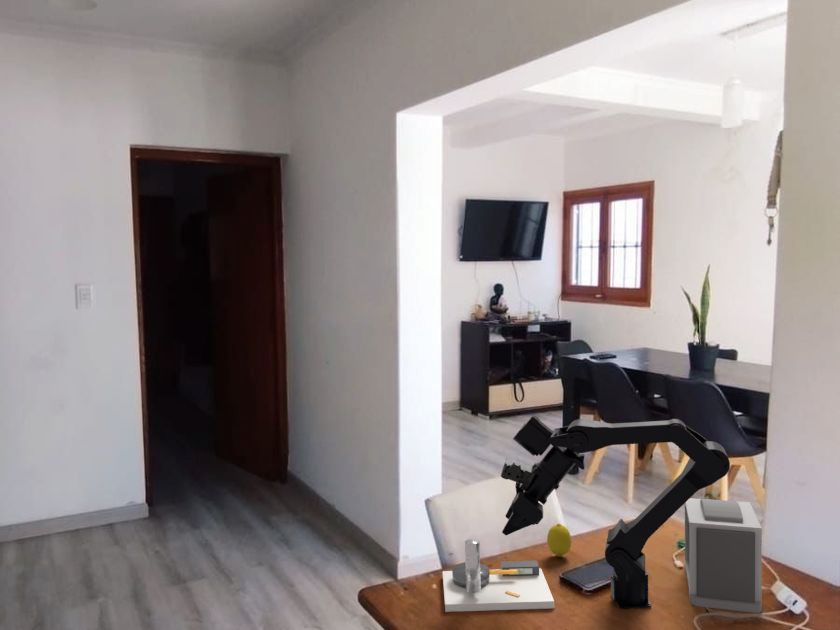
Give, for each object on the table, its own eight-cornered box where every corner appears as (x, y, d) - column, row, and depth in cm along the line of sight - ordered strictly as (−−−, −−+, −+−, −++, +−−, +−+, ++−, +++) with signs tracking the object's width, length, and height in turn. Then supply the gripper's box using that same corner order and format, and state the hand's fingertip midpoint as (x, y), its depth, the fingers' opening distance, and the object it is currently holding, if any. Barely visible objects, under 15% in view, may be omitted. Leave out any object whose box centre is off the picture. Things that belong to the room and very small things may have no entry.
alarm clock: (684, 566, 154) (684, 487, 152) (748, 572, 150) (748, 491, 148) (690, 605, 136) (690, 516, 135) (762, 613, 132) (763, 522, 131)
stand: (541, 574, 152) (540, 559, 151) (554, 608, 137) (554, 591, 136) (442, 577, 152) (442, 562, 151) (445, 611, 137) (444, 594, 136)
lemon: (565, 563, 157) (564, 530, 156) (543, 558, 160) (542, 525, 159) (575, 555, 161) (574, 522, 161) (554, 549, 164) (553, 517, 164)
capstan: (514, 569, 150) (513, 520, 150) (523, 597, 138) (522, 543, 137) (451, 571, 150) (450, 522, 150) (454, 599, 138) (453, 545, 137)
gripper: (522, 435, 152) (480, 487, 154) (517, 458, 133) (469, 516, 136) (562, 467, 150) (519, 519, 153) (563, 494, 132) (514, 552, 135)
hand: (505, 525), depth 144 cm, fingers open, 9 cm apart
